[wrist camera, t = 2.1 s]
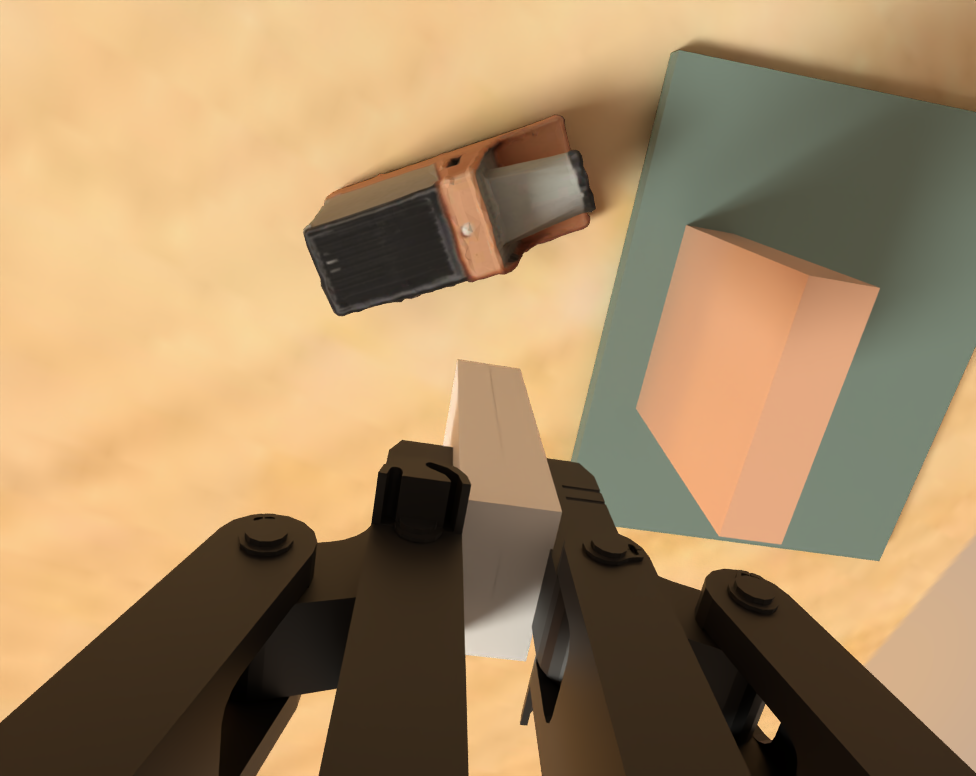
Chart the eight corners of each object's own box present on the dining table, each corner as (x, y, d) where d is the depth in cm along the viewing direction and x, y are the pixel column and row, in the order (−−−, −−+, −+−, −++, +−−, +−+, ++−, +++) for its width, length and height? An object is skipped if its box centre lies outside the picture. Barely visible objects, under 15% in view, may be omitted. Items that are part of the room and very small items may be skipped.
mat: (671, 52, 26) (679, 49, 25) (1050, 132, 27) (1071, 132, 26) (559, 508, 32) (562, 519, 31) (867, 549, 34) (879, 561, 33)
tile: (686, 225, 27) (808, 275, 18) (737, 234, 27) (885, 289, 18) (635, 408, 30) (718, 536, 20) (682, 415, 30) (786, 545, 20)
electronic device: (588, 223, 28) (630, 253, 21) (368, 296, 28) (337, 350, 21) (558, 112, 26) (593, 105, 19) (327, 193, 27) (278, 215, 20)
